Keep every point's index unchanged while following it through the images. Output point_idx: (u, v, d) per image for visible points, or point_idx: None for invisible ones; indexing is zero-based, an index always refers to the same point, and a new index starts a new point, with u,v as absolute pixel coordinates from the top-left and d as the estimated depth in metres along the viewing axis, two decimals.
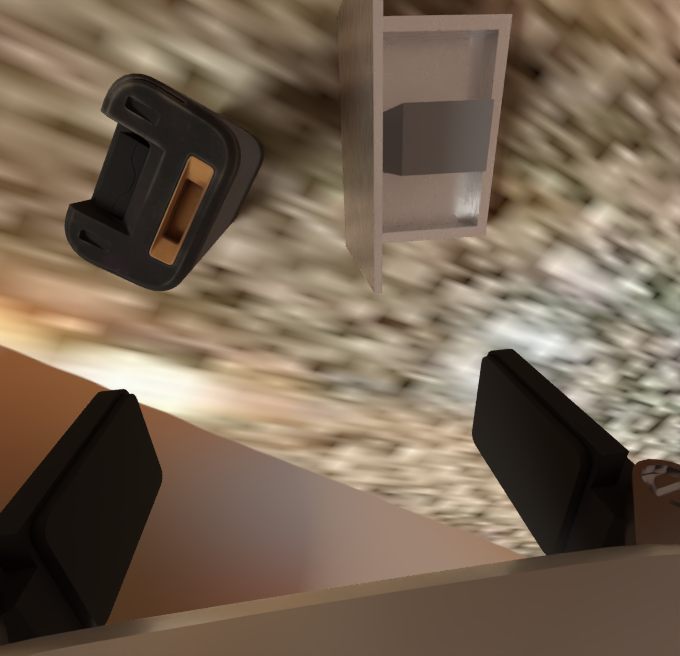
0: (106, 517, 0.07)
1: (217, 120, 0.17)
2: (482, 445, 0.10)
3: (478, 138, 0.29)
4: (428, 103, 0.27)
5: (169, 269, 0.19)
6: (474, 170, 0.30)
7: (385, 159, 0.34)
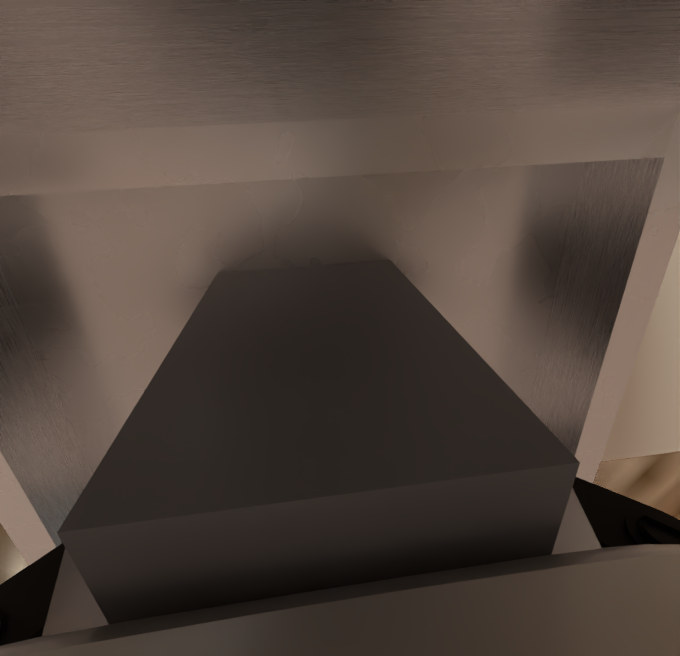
0: None
1: None
2: None
3: None
4: None
5: None
6: None
7: (248, 299, 0.08)
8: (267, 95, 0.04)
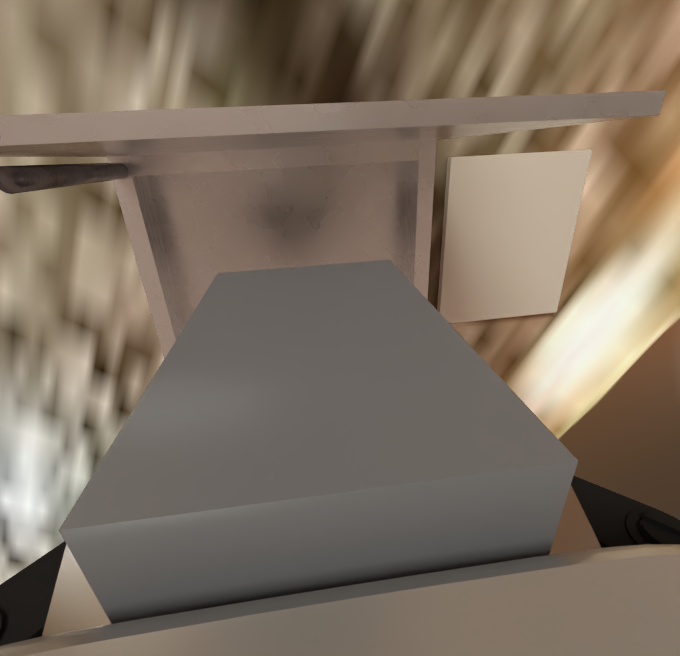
0: None
1: None
2: None
3: None
4: None
5: None
6: None
7: (248, 298, 0.08)
8: (272, 146, 0.17)
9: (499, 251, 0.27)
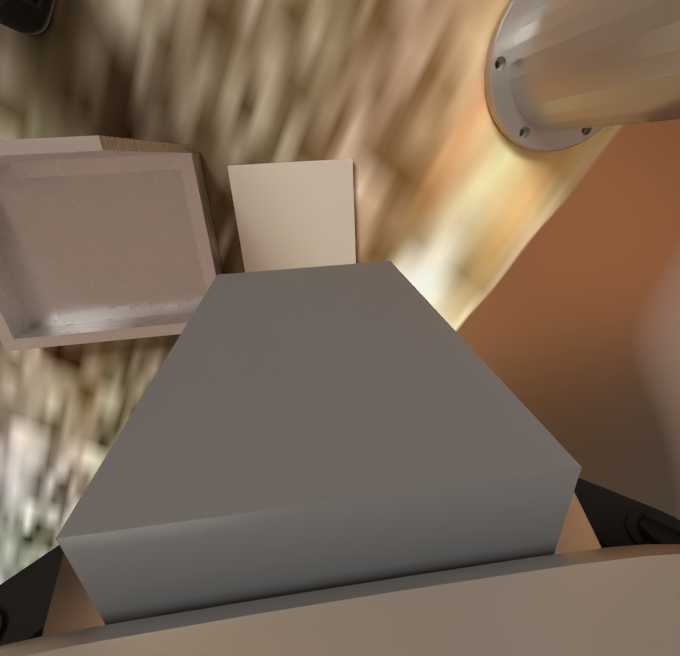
0: None
1: None
2: None
3: None
4: None
5: None
6: None
7: (248, 300, 0.08)
8: None
9: (290, 244, 0.32)
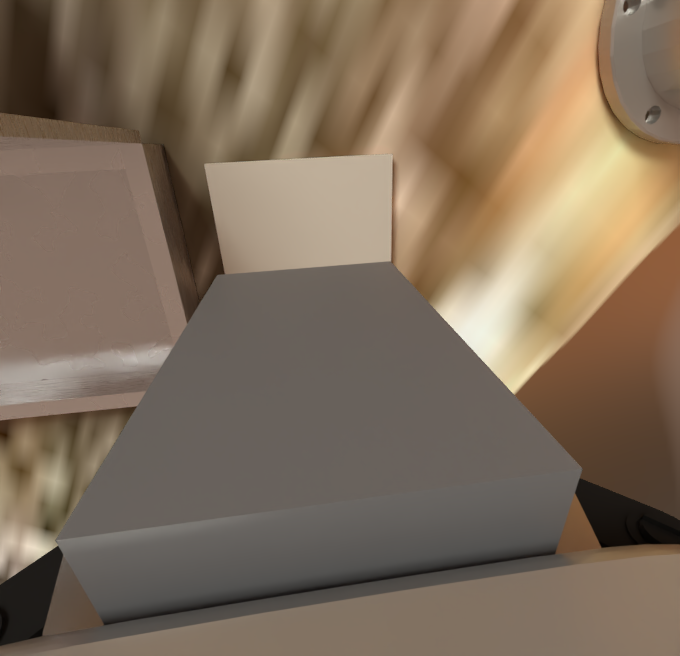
0: None
1: None
2: None
3: None
4: None
5: None
6: None
7: (248, 301, 0.08)
8: None
9: None
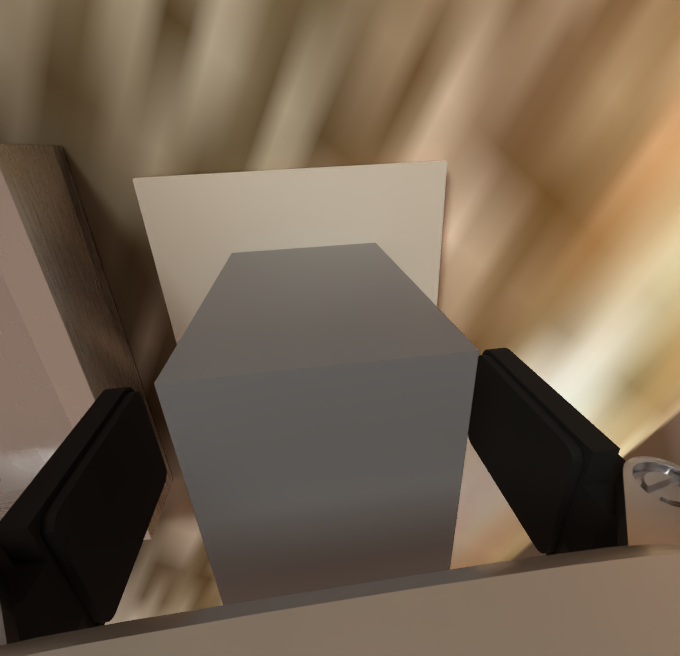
0: (113, 513, 0.07)
1: None
2: (477, 443, 0.10)
3: None
4: (459, 443, 0.07)
5: None
6: None
7: (259, 269, 0.11)
8: None
9: None
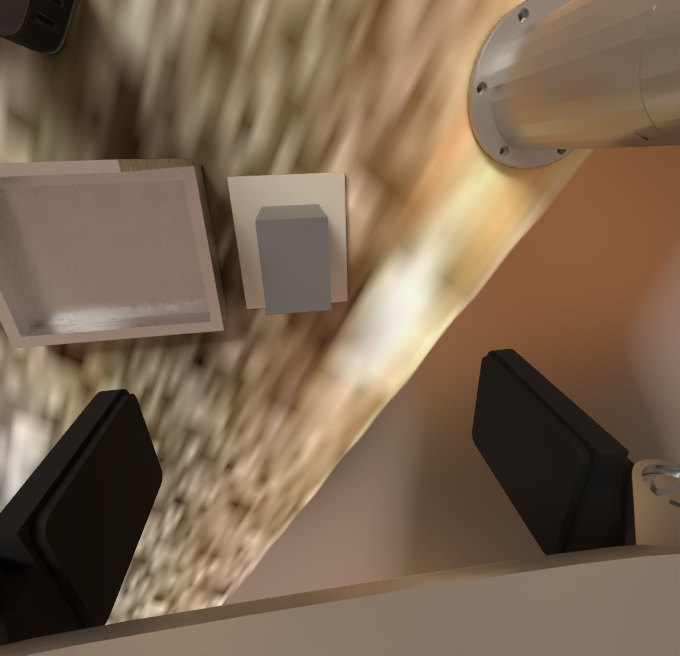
0: (106, 517, 0.07)
1: None
2: (482, 445, 0.10)
3: (297, 301, 0.28)
4: (326, 244, 0.27)
5: None
6: (266, 302, 0.28)
7: (273, 209, 0.30)
8: None
9: None
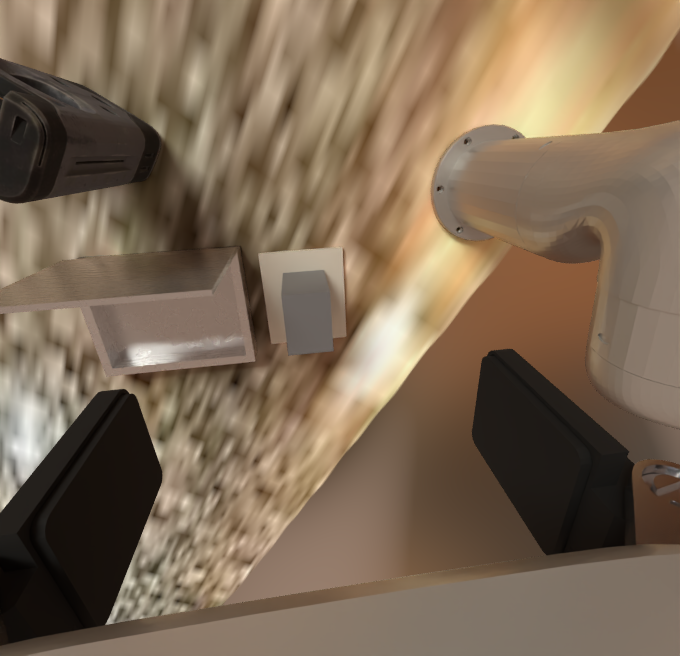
0: (106, 517, 0.07)
1: (36, 190, 0.22)
2: (482, 445, 0.10)
3: (309, 345, 0.40)
4: (329, 308, 0.39)
5: None
6: (288, 347, 0.40)
7: (292, 278, 0.43)
8: None
9: None
